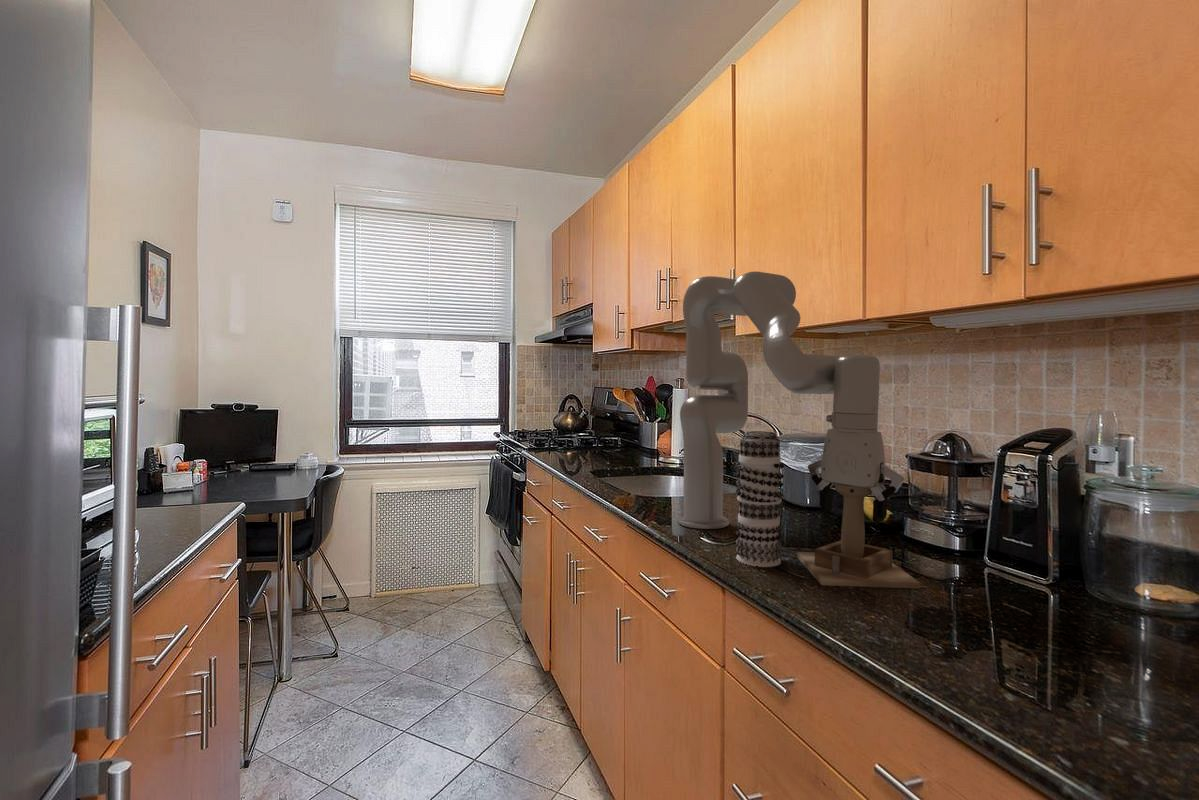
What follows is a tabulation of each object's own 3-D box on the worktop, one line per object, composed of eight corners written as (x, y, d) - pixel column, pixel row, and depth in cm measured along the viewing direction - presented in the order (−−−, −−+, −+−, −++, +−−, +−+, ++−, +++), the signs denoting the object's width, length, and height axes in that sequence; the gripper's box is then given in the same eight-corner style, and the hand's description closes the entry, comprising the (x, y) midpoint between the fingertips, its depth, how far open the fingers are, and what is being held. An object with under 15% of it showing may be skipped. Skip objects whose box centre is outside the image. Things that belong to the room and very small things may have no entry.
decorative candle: (765, 551, 115) (767, 429, 115) (793, 565, 106) (794, 433, 106) (725, 555, 113) (726, 430, 112) (750, 569, 104) (751, 434, 103)
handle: (869, 572, 99) (871, 488, 99) (831, 566, 103) (832, 484, 102) (873, 565, 103) (874, 484, 103) (835, 559, 107) (837, 480, 106)
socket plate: (796, 557, 112) (797, 537, 111) (880, 559, 110) (881, 539, 110) (821, 585, 96) (821, 561, 96) (919, 588, 94) (920, 564, 94)
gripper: (800, 420, 107) (797, 509, 107) (895, 427, 93) (891, 529, 94) (820, 419, 111) (817, 504, 112) (914, 425, 98) (910, 522, 99)
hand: (851, 516), depth 103 cm, fingers open, 9 cm apart
